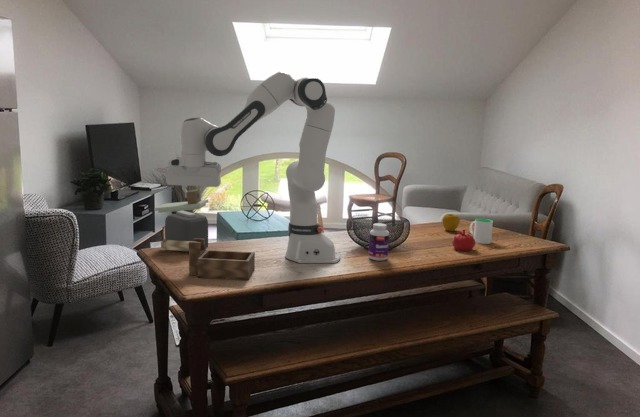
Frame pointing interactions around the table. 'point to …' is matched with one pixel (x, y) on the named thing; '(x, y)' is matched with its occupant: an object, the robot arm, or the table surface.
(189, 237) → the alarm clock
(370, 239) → the pill bottle
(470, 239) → the pomegranate
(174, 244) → the bar
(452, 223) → the apple
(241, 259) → the chest
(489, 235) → the mug
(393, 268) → the table surface
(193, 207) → the lid
